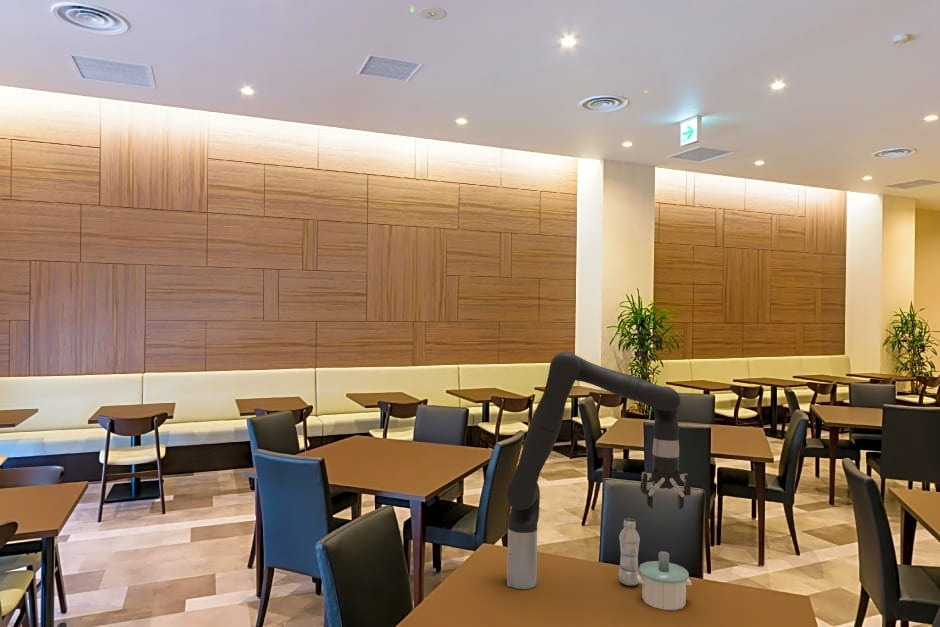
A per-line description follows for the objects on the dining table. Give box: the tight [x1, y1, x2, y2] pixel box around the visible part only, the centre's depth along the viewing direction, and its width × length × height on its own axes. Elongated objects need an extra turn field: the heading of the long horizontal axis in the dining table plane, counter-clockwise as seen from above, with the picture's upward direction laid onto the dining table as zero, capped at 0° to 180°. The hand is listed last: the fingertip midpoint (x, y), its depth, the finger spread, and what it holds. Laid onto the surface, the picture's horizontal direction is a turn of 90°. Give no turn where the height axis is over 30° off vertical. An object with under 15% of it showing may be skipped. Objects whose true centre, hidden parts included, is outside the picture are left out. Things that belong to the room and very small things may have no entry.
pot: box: [637, 574, 693, 611], centre depth 182 cm, size 15×12×8 cm
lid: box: [638, 550, 690, 583], centre depth 182 cm, size 14×14×6 cm
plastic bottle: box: [618, 518, 641, 587], centre depth 193 cm, size 6×7×20 cm
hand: (665, 508), depth 182 cm, fingers open, 8 cm apart
